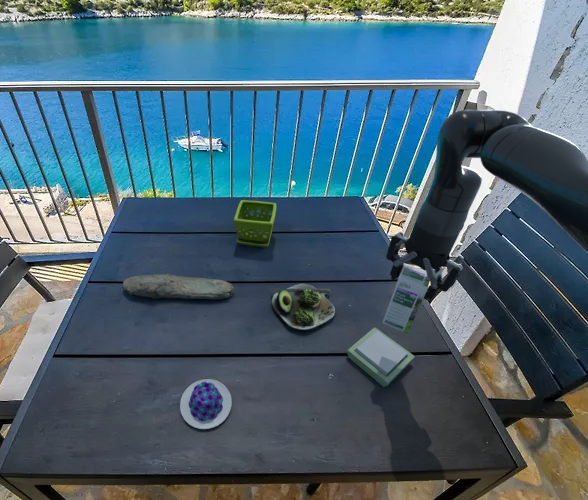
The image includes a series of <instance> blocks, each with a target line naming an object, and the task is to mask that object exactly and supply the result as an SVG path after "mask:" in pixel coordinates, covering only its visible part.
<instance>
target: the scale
mask: <svg viewBox="0 0 588 500" xmlns="http://www.w3.org/2000/svg"><path fill="white" fill-rule="evenodd" d="M376 331H378V332H380V333H381V334H382V335H384V336H385V337H387V338H388V339H389V340H391V341H392V342H393V343H395V344H396V345H397V346H399V347H400V348H402V349H403V350H404V351H406V352H407V353H408V354H407V356H406V357H405V358H404V359H403V360H402V361H401V362H400V363H399V364H398V365H397V366H396V367H395V368H394V369H393V370H392V371H391V372H390V373H389V374H388V375H387V376H385V375H384V374H382V373H381V372H380V371H379V370H377V369H376V368H375V367H374V366H373V365H371V364H370V363H369V362H368V361H366V360H365V359H364V358H363V357H361V356H360V355H359V354H358V353H356V352H355V351H356V348H357V347H359V346H360V345H361V344H362V343H363V342H364V341H366V340H367V339H368V338H369V337H370V336H372V335H373V334H374V333H375V332H376ZM346 354H347V358H348V359H349V360H351V361H352V362H353V363H354V364H356V365H357V367H359V368H361V370H362V371H364V372H365V373H366V374H368V375H369V376H370V377H371V378H372V379H373V380H375V381H376V382H377V383H379V385H381V386H382V387H383V388H385V387H388V386H389V385H390V384H391V383H392V382H393V381H394V380H395V379H396V378H397V377H398V376H399V375H400V374H401V373H402V372H403V371H404V370H405V369H406V368H407V367H408V366H409V365H410V364H411V363H412V362H413V361H414V359H415V358H416V355H414V354H412V352H410V351H408V350H407V349H406V348H404V347H402V346H401V345H400V344H399V343H397V342H396V341H394V340H393V339H392V338H390V337H389V336H388V335H386V334H385V333H383V332H382V331H381V330H380V329H378V328H377V327H375V326H374V327H373V328H372V329H371V330H369V331H368V332H367V333H366V334H365V335H363V336H362V337H361V338H360V339H359V340H357V341H356V342H355V343H354V344H353V345H352V346H350V347H349V348H348V349H347V351H346Z"/></svg>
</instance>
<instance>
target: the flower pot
mask: <svg viewBox="0 0 588 500" xmlns="http://www.w3.org/2000/svg"><path fill="white" fill-rule="evenodd" d="M251 212H254V213H253V214H252V213H251ZM270 212H271V213H270ZM276 214H277V203H275V202H271V201H260V200H246V199H242V200H240V201H239V203H238V206H237V208H236V212H235V215H234V218H233V225H234V229H235V233H236V235H237V238H236V243H237V244H239V245H241V246H247V247H255V248H262V249H265V248H268V247H269V245H270V241H271V237H272V233H273V228H274V224H275V220H276Z"/></svg>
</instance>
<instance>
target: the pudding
mask: <svg viewBox="0 0 588 500" xmlns="http://www.w3.org/2000/svg"><path fill="white" fill-rule="evenodd" d="M232 401H233V400H232V395H231V392H230V390H229V389H228V387H227V386H225V385H224V384H223V383H222V382H220V381H218V380H216V379H211V378H205V379H204V378H203V379H200V380H197V381H194V382H193V383H191V384H190V385H189V386H187V388H186V389H185V390H184V392H183V393H182V396H181V397H180V402H179V411H180V414H181V416H182V418H183V420H184V421H185V422H186V423H187V424H188V425H189V426H191V427H193V428H196V429H199V430H207V429H208V430H209V429H213V428H216V427H218V426H219V425H220V424H222V423H223V422H225V420H226V419H227V418H228V416H229V414H230V413H231V409H232V404H233V402H232Z"/></svg>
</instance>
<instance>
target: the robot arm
mask: <svg viewBox="0 0 588 500" xmlns="http://www.w3.org/2000/svg"><path fill="white" fill-rule="evenodd" d="M435 153H436V155H435V166H434V173H433V178H432V181H431V184H430V186H429V189H428V192H427V194H426V196H425V198H424V201H423V202H422V204H421V206H420V208H419V211H418V213H417V216H416V219H415V221H414V223H413V225H412V229H411V231H410V233H409V236H408V237H406V236H404V233H403V232H401V231H399V232H397V233H396V234H394V235H393V236H391V238H390V240H389V241H390V242H389V245H388V249H387V251H386V256H385V257H386V259H387V260H388V261H390V262H392V266H391V270H390V271H389V272H390V273H389V277H390V276H391V277H390V279H391V280H392V281H396V280H398V279H399V276H400V273H401V270H402V268H403V265H404V263H405V264H406V263H407V262H408V261H409V262H410V264H411V265H413V266H416V267H418V268H420V269H423V270H425V271H426V273H427V277H428V278H429V279H430V282H429V285H428V289H427V291H426V294H425V296H424V298H423V300H425V301H428V300H432V299H433V298H435V297H436V296H437V294H438V292H439V290H441V291H442V292H443V293H446V292H447V291H449V290H450V289H451V288H453V286H454V285H455V283H456V282H457V280H458V278H459V277H460V275H461V274H462V273H463V271H464V270H465V268H466V266H465V264H464V263H462V262H459V263H457V262H455V261H453V260H451V257H450V254H451V251H452V250H453V248H454V245H455V243H456V242H457V240H458V237H459V235H460V233H461V231H462V230H463V228H464V226H465V223H466V221H467V219H468V215H469V211H470V209H471V207H472V205H473V203H474V201H475V199H476V197H477V195H478V193H479V191H480V188H481V186H482V181H483V178H482V176H481V174H480V173H479V172H478V171H477V170H475V169H473V168H471V167H467V166H464V165H463V163H464V161H465V159H480V162H481V165H482V166H483V168H484V169H485V170H486V171H487V172H488V173H490V174H491V175H492V176H494V177H495V178H497V179H499V180H500V181H502V182H503V183H505V184H507V185H509V186H510V187H512V188H513V189H515V190H517V191H518V192H519V193H522V195H524V196H526V197H527V198H528V199H530V200H531V201H532V202H533V203H534V204H536V205H537V206H538V207H539V208H540V209H541V210H542V211H543V212H544V213H545V214H546V215H547V216H548V217H549V218H550V219H551V220H552V221H553V222H554V223H555V224H556V225H557V226H558V228H560V229H561V230H562V231H563V232H564V233H565V234H566V235H567V236H568V237H569V238H570V239H571V240H573V242H575V244H577V245H578V246H579V248H580V249H581V250H582V251H584V253H586V254H587V255H588V158H587V156H586V155H585V154H584V151H582V150H581V149H580V148H579V147H578V146H577V145H576V144H574V143H573V142H572V141H569V140H568V139H566V138H564V137H561V136H559V135H556V134H554V133H551V132H549V131H546V130H543V129H541V128H538V127H534V126H533V125H532V124H531V123H530V122H529V121H528V120H527V119H525V117H523V116H522V115H520V114H518V113H516V112H512V111H508V110H502V109H461V110H456V111H455V112H452V113H451V114H449V116H447V117H446V118H445V119H444V121H443V122H442V123H441V125H440V127H439V129H438V131H437V136H436V152H435ZM403 245H404V248H405V251H406V253H404V254H403V255H402V256H400V255H399V251H400V248H401V246H403ZM444 266H446V267H447V269H446V271H447V274H448V275H447V277H446V278H445V280H444V278H443V267H444Z"/></svg>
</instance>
